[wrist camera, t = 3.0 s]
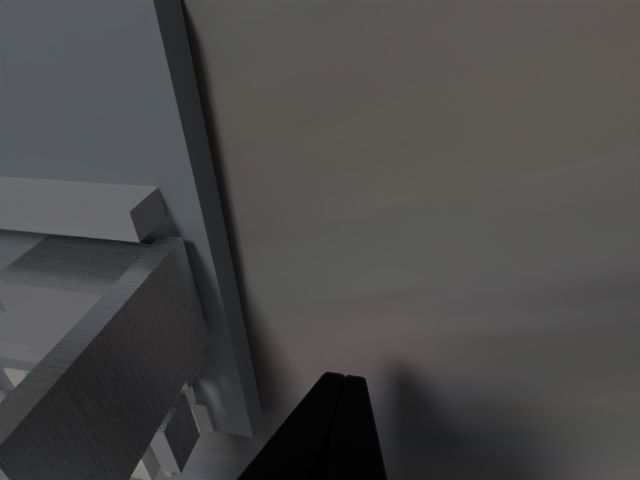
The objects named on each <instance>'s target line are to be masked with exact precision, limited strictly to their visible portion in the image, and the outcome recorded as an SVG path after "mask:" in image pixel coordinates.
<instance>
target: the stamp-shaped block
mask: <svg viewBox="0 0 640 480" xmlns="http://www.w3.org/2000/svg"><path fill="white" fill-rule="evenodd" d="M180 392H181V393H186V396H187V399H188V402H189V405H190V408H191V409H192V407H193V405H194V403H195V401H196V397H195V394H194V391H193V388H192V385H191V387H190V388H189V390H188V389H181V391H180ZM160 467H161V466H160V464H159V462H158V460H157V458H156V456H155V453H154V451H153V449H152V447H151V445H150V444H149V446H148V448H147V449H146V451H145V453H144V455H143V456H142V458H141V460H140V462H139V463H138V465H137V467H136V468H135V470H134V472H133V474H132V475H131V477H133V478H138V479H142V480H154V478H155V476H156V474H157V472H158V471H159V469H160ZM163 472H164V474H165V476H167V477H172V478H174V476H175V474H176V473H175V472H171V471H166V470H163Z"/></svg>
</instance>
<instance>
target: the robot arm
mask: <svg viewBox="0 0 640 480" xmlns="http://www.w3.org/2000/svg"><path fill="white" fill-rule="evenodd" d="M237 480H387V476H386V471H385V467H384V462H383V457H382V453H381V448H380V443H379V439H378V434H377V429H376V425H375V420H374V415H373V411H372V406H371V401H370V397H369V392H368V387H367V383H366V379H365V378H364V377H360V376H353V375H347V376H346V377H345V376H344V375H343V374H340V373H334V372H326V373H324V374H323V375H322V376H321V377H320V379H319V380H318V381H317V382H316V384H315V385H314V386H313V387H312V388H311V390H310V391H309V392H308V393H307V395H306V396H305V397H304V398H303V399H302V401H301V402H300V403H299V404H298V405H297V407H296V408H295V409H294V410H293V412H292V413H291V414H290V415H289V416H288V418H287V419H286V420H285V421H284V423H283V424H282V425H281V426H280V427H279V429H278V430H277V431H276V432H275V433H274V435H273V436H272V437H271V438H270V440H269V441H268V442H267V443H266V444H265V446H264V447H263V448H262V449H261V451H260V452H259V453H258V454H257V455H256V457H255V458H254V459H253V460H252V461H251V463H250V464H249V465H248V466H247V468H246V469H245V470H244V471H243V472H242V474H241V475H240V476H239V477H238V479H237Z"/></svg>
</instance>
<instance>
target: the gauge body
mask: <svg viewBox="0 0 640 480" xmlns="http://www.w3.org/2000/svg"><path fill="white" fill-rule="evenodd" d="M50 234H53V235H63V236H74V237H84V238H94V239H104V240H115V241H125V242H135V243H145V244H153V243H154V242H155V241H156V240H157V239H158V237H159V236H160V235H162V236H173V237H182V238H183V242H184V245H185V249H186V253H187V257H188V260H189V264H190V268H191V272H192V275H193V279H194V283H195V287H196V290H197V294H198V298H199V302H200V305H201V309H202V313H203V317H204V320H205V324H206V328H207V332H208V335H209V339H210V341H209V343H208V345H207V346H206V348H205V350H204V351H203V353H202V355H201V357H200V358H199V360H198V362H197V363H196V365H195V367H194V369H193V370H192V372H191V374H190V375H189V377H188V379H187V381H186V382H185V384H184V386H183V388H182V389H188V390H189V388H190V387H191V385H192V388H193V391H194V394H195V397H196V401H195V403H194V405H193V407H192V409H191V411H192V414H193V417H194V420H195V422H196V425H197V428H198V431H199V432H201V431H204V432H209V433H214V431H220V432H225V433H231V434H236V435H241V436H246V437H251V438H253V437H254V435H255V432H256V430H257V427H258V424H259V422H260V419H261V416H262V409H261V404H260V399H259V394H258V389H257V384H256V379H255V374H254V369H253V363H252V358H251V353H250V348H249V343H248V338H247V333H246V328H245V323H244V318H243V313H242V308H241V303H240V298H239V293H238V288H237V283H236V278H235V273H234V268H233V263H232V258H231V253H230V248H229V243H228V238H227V233H226V228H225V223H224V217H223V212H222V207H221V202H220V197H219V192H218V187H217V182H216V177H215V172H214V167H213V162H212V157H211V152H210V147H209V142H208V137H207V132H206V127H205V122H204V117H203V112H202V107H201V102H200V97H199V92H198V87H197V82H196V77H195V71H194V66H193V61H192V56H191V51H190V46H189V41H188V36H187V31H186V26H185V21H184V16H183V11H182V6H181V1H180V0H0V271H2V270H3V269H4V268H6V267H7V266H8V265H10V264H11V263H12V262H14V261H15V260H16V259H18V258H19V257H20V256H22V255H23V254H24V253H26V252H27V251H28V250H30V249H31V248H32V247H34V246H35V245H36V244H38V243H39V242H40V241H42V240H43V239H45V238H46V237H47V236H49V235H50ZM37 364H38V363H37V361H36V359H35V358H34V356H33V354H32V353H31V351H30V349H29V348H28V346H27V344H26V343H25V341H24V339H23V337H22V336H21V334H20V332H19V331H18V329H17V327H16V326H15V324H14V322H13V321H12V319H11V317H10V316H9V314H8V312H7V311H6V309H5V307H4V306H3V304H2V302H1V301H0V389H2V390H7V391H12V390H13V389H14V388H15V387H16V386H17V385H18V384H19V383H20V382H21V381H22V380H23V379H24V378H25V377H26V376H27V375H28V374H29V373H30V371H31V370H32V369H33V368H34V367H35V366H36V365H37Z"/></svg>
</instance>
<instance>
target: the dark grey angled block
mask: <svg viewBox="0 0 640 480" xmlns="http://www.w3.org/2000/svg"><path fill="white" fill-rule="evenodd" d="M0 301H1V302H2V304H3V306H4V307H5V309H6V311H7V312H8V314H9V316H10V317H11V319H12V321H13V322H14V324H15V326H16V327H17V329H18V331H19V332H20V334H21V336H22V337H23V339H24V341H25V343H26V344H27V346H28V348H29V349H30V351H31V353H32V354H33V356H34V358H35V359H36V361H37V363H38V364H37V365H36V366H35V367H34V368H33V369H32V370H31V371H30V373H29V374H28V375H27V376H26V377H25V378H24V379H23V380H22V381H21V382H20V383H19V384H18V385H17V386H16V387H15V388H14V389H13V390H12V391H11V392H10V393H9V395H8V396H7V397H6V398H5V399H4V400H3V401H2V402H1V403H0V480H129V479H130V477H131V475H132V474H133V472H134V470H135V468H136V467H137V465H138V463H139V462H140V460H141V458H142V456H143V455H144V453H145V451H146V449H147V448H148V446H149V444H150V445H151V447H152V449H153V451H154V453H155V456H156V458H157V460H158V462H159V464H160V466H161V469H162V470H166V471H171V472H175V473H180V474H181V473H182V471H183V469H184V467H185V465H186V463H187V461H188V458H189V456H190V454H191V452H192V450H193V448H194V446H195V444H196V442H197V440H198V438H199V436H200V434H199V431H198V428H197V425H196V422H195V420H194V417H193V414H192V411H191V408H190V405H189V402H188V399H187V396H186V393H181V392H180V391H181V389H182V388H183V386H184V384H185V382H186V381H187V379H188V377H189V375H190V374H191V372H192V370H193V369H194V367H195V365H196V363H197V362H198V360H199V358H200V357H201V355H202V353H203V351H204V350H205V348H206V346H207V345H208V343H209V341H210V339H209V335H208V332H207V328H206V324H205V320H204V317H203V313H202V309H201V305H200V302H199V298H198V294H197V290H196V287H195V283H194V279H193V275H192V272H191V268H190V264H189V260H188V257H187V253H186V249H185V245H184V242H183V238H182V237H173V236H162V235H160V236H159V237H158V239H157V240H156V241H155V242H154V243H153V244H145V243H135V242H125V241H115V240H104V239H94V238H84V237H74V236H63V235H53V234H50V235H49V236H47V237H46V238H45V239H43V240H42V241H40V242H39V243H38V244H36V245H35V246H34V247H32V248H31V249H30V250H28V251H27V252H26V253H24V254H23V255H22V256H20V257H19V258H18V259H16V260H15V261H14V262H12V263H11V264H10V265H8V266H7V267H6V268H4V269H3V270H2V271H0Z"/></svg>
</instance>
